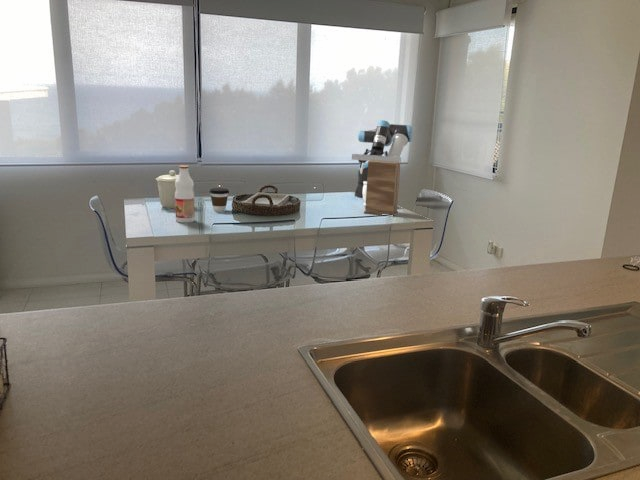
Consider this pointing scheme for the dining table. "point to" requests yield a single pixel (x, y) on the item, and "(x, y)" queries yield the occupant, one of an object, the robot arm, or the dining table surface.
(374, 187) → the walnut tower
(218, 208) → the coffee cup
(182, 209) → the fruit juice
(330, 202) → the dining table surface
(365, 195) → the jar
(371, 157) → the steel bar
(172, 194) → the canister
